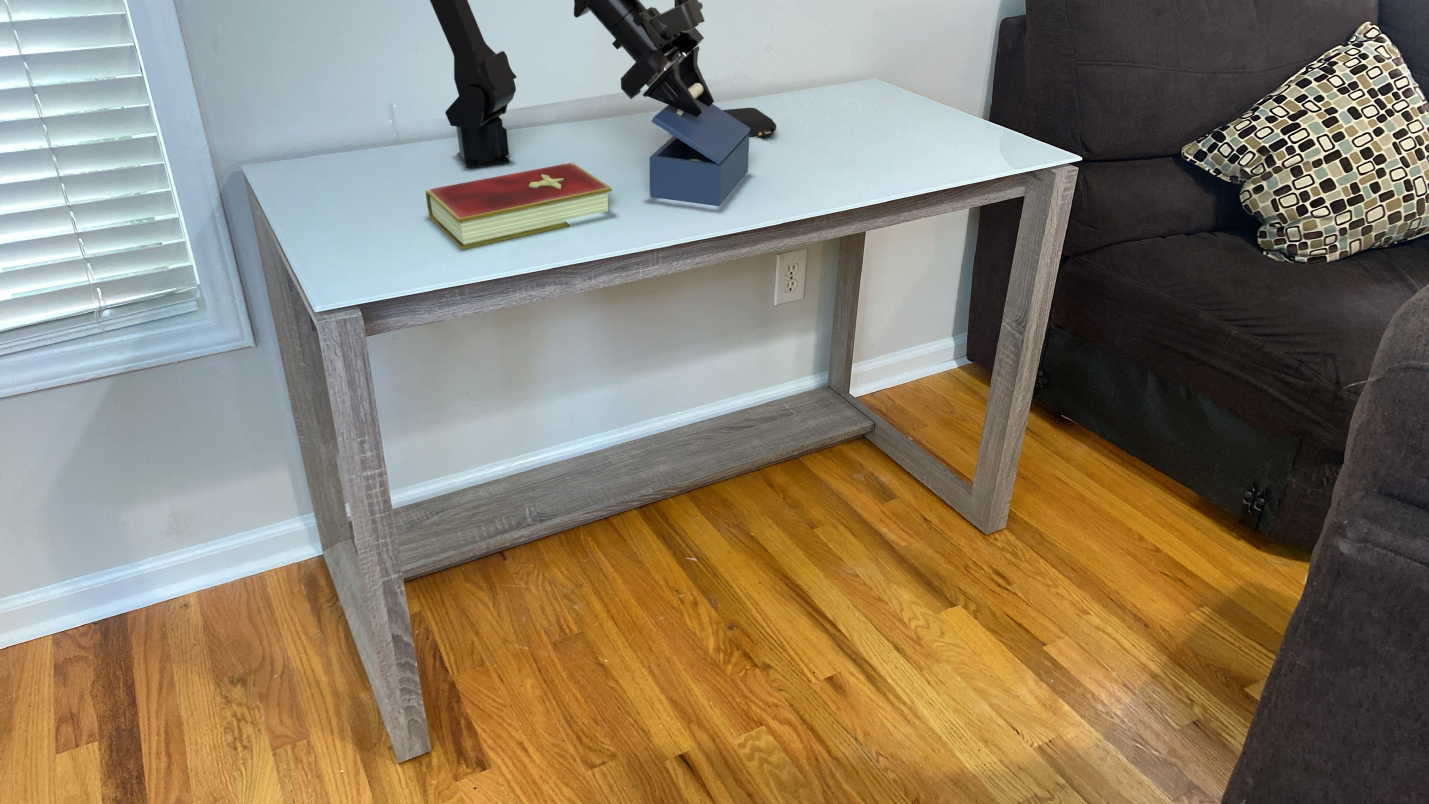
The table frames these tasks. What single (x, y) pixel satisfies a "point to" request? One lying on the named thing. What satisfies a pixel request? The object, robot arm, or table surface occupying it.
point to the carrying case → (754, 121)
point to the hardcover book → (515, 204)
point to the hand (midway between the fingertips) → (705, 109)
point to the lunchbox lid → (703, 128)
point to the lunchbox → (696, 173)
